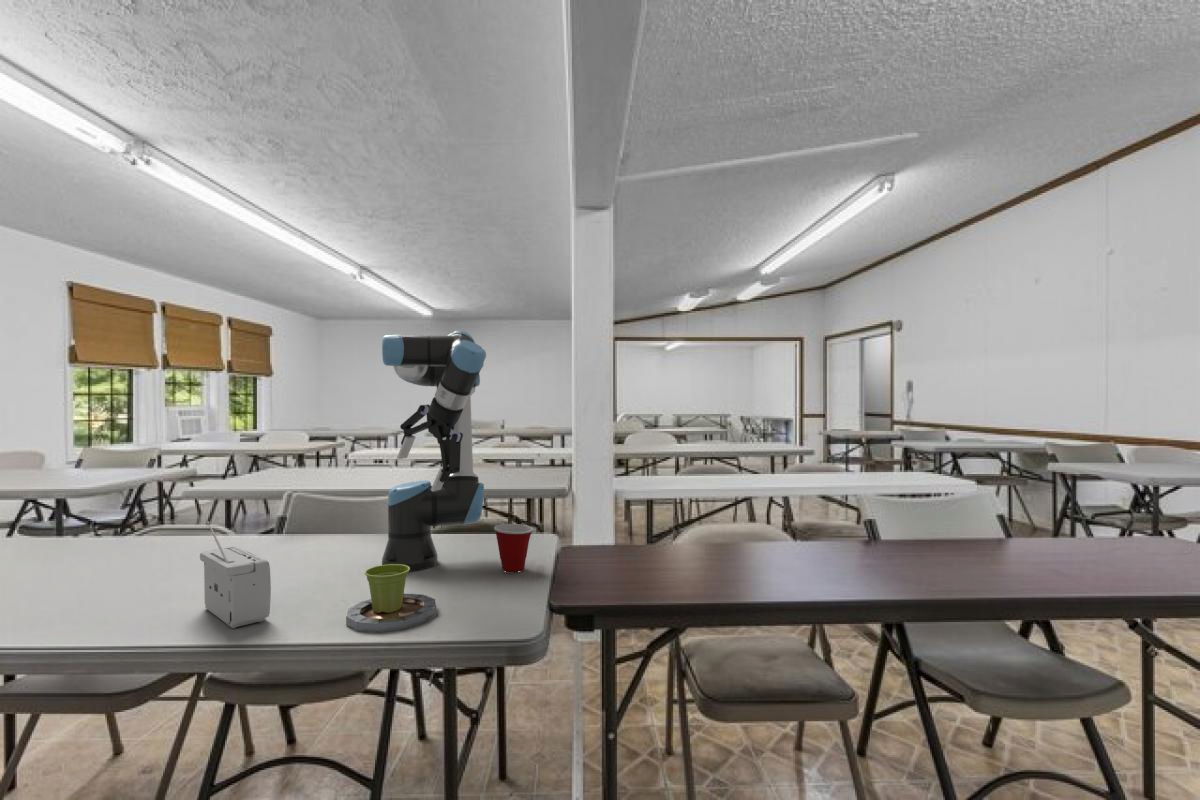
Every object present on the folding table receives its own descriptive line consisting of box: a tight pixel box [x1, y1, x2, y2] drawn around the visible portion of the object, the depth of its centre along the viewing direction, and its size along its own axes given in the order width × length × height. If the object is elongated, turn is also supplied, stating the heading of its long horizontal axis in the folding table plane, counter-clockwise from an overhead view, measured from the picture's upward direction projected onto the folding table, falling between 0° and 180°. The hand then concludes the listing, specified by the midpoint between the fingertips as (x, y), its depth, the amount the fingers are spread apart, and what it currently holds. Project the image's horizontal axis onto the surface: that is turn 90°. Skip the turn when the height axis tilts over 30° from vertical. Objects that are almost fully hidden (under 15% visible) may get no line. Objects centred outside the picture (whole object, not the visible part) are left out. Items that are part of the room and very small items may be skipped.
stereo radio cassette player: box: [199, 521, 272, 629], centre depth 129 cm, size 21×8×20 cm, turn 48°
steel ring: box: [345, 593, 437, 634], centre depth 127 cm, size 18×18×2 cm
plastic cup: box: [493, 523, 534, 573], centre depth 160 cm, size 11×11×12 cm
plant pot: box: [364, 564, 410, 613], centre depth 129 cm, size 9×9×9 cm
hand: (418, 473), depth 147 cm, fingers open, 13 cm apart
